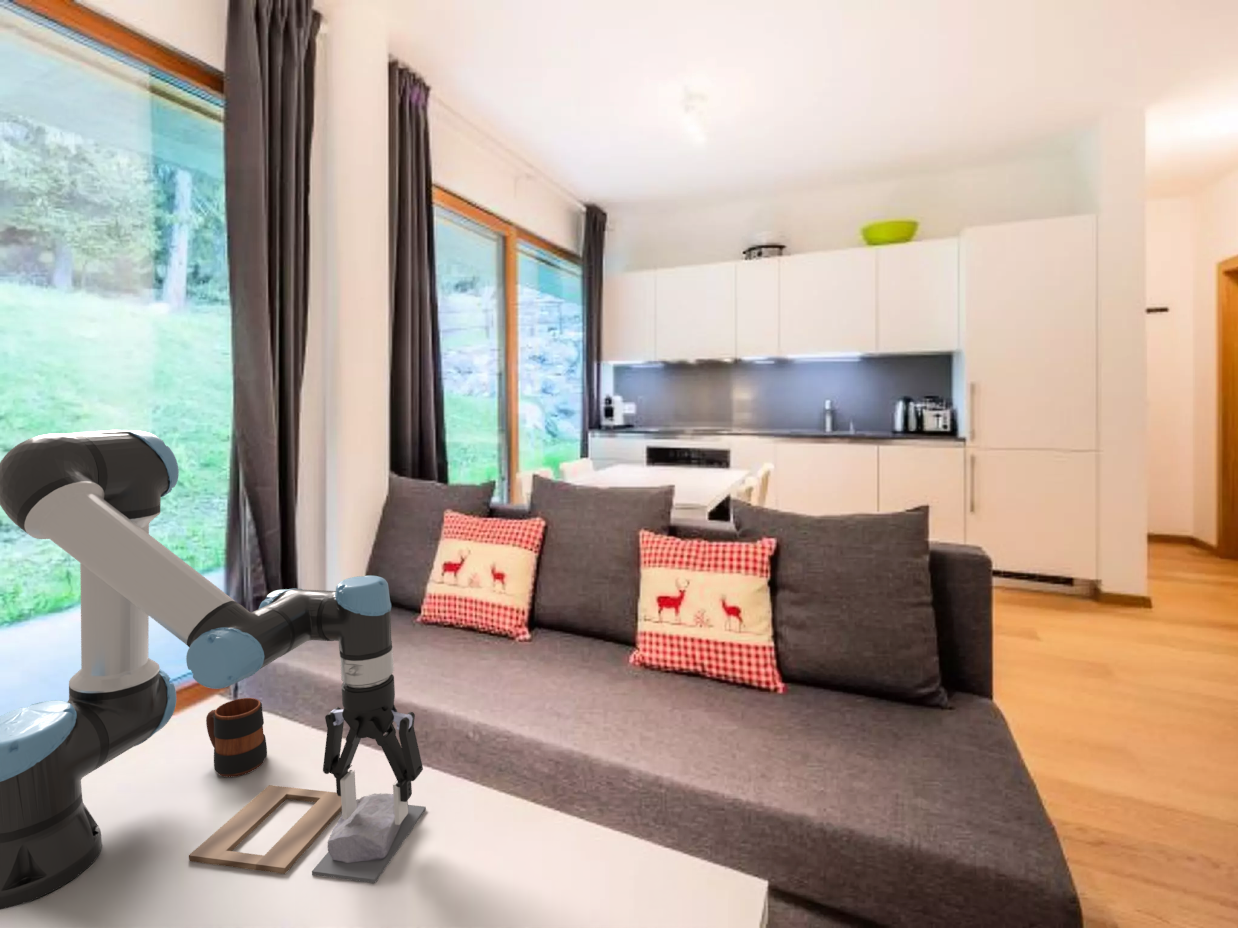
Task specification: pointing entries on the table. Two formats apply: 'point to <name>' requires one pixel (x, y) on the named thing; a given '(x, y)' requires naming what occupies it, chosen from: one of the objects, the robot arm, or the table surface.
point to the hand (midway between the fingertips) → (375, 815)
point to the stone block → (365, 831)
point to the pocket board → (254, 814)
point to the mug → (237, 737)
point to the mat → (373, 868)
